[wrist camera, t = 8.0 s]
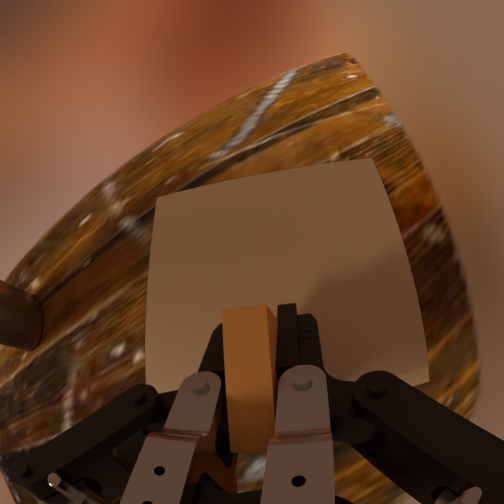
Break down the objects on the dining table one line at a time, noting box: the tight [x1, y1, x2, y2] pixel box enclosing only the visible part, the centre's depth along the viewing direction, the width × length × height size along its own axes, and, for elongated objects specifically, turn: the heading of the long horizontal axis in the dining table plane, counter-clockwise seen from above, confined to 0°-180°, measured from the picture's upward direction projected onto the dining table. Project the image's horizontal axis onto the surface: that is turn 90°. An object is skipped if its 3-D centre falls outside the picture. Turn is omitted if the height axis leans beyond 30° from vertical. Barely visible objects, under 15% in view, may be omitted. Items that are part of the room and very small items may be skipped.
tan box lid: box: [145, 158, 429, 453], centre depth 12 cm, size 14×15×7 cm
